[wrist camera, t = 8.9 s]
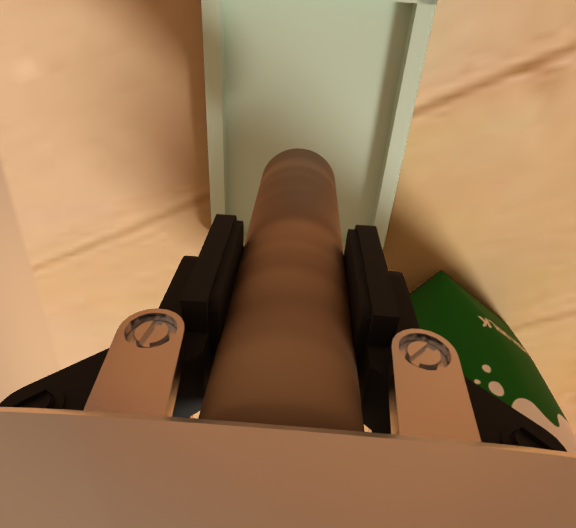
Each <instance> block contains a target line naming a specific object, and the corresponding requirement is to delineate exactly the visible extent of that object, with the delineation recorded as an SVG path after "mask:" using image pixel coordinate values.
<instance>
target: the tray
mask: <svg viewBox="0 0 576 528" xmlns="http://www.w3.org/2000/svg"><path fill="white" fill-rule="evenodd" d="M436 5H437V0H201V10H202V32H203V54H204V75H205V97H206V119H207V141H208V163H209V184H210V206H211V226H212V223H213V221H214V218H215V216H216V214H225V215H236V217H237V220H238V221H243V223H244V243H245V239H246V236H247V232H248V228H249V224H250V220H251V217H252V213H253V209H254V205H255V201H256V197H257V194H258V190H259V186H260V182H261V178H262V175H263V172H264V169H265V167H266V165H267V164H268V163H269V161H270V160H271V159H272V158H273V157H274V156H276V155H277V154H279V153H281V152H283V151H285V150H289V149H295V148H301V149H307V150H311V151H313V152H316V153H317V154H319V155H320V156H322V157H323V158H324V159H325V160H326V161H327V162H328V163H329V165H330V166H331V168H332V170H333V173H334V177H335V185H336V193H337V202H338V210H339V219H340V227H341V236H342V244H343V253H344V250H345V244H346V238H347V232H348V229H355V226H356V225H370V226H376V228H377V231H378V235H379V239H380V243H381V246H382V250H383V248H384V243H385V239H386V234H387V230H388V225H389V220H390V216H391V211H392V207H393V202H394V197H395V193H396V188H397V184H398V179H399V175H400V170H401V165H402V161H403V156H404V152H405V147H406V142H407V138H408V133H409V129H410V124H411V119H412V115H413V110H414V106H415V101H416V96H417V92H418V87H419V83H420V78H421V74H422V69H423V64H424V60H425V55H426V51H427V46H428V41H429V37H430V32H431V28H432V23H433V18H434V14H435V9H436Z"/></svg>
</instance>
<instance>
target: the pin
mask: <svg viewBox="0 0 576 528" xmlns="http://www.w3.org/2000/svg"><path fill="white" fill-rule="evenodd" d="M198 419H209V420H222V421H235V422H248V423H260V424H273V425H286V426H298V427H311V428H323V429H336V430H348V431H360V432H364V424H363V416H362V407H361V398H360V390H359V381H358V373H357V364H356V356H355V351H354V342H353V334H352V325H351V316H350V308H349V299H348V290H347V282H346V273H345V264H344V253H343V244H342V236H341V227H340V219H339V210H338V202H337V193H336V185H335V177H334V173H333V170H332V168H331V166H330V165H329V163H328V162H327V161H326V160H325V159H324V158H323V157H322V156H320V155H319V154H317V153H316V152H313V151H311V150H307V149H301V148H295V149H289V150H285V151H283V152H281V153H279V154H277V155H276V156H274V157H273V158H272V159H271V160H270V161H269V163H268V164H267V165H266V167H265V169H264V172H263V175H262V178H261V182H260V186H259V190H258V194H257V197H256V201H255V205H254V209H253V213H252V217H251V220H250V224H249V228H248V232H247V236H246V239H245V243H244V249H243V252H242V256H241V260H240V264H239V268H238V272H237V275H236V279H235V283H234V287H233V291H232V295H231V298H230V302H229V306H228V310H227V314H226V318H225V322H224V325H223V329H222V333H221V337H220V341H219V343H218V346H217V350H216V354H215V358H214V361H213V365H212V369H211V373H210V377H209V380H208V384H207V388H206V392H205V396H204V399H203V403H202V407H201V411H200V415H199V418H198Z"/></svg>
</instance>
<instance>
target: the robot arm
mask: <svg viewBox="0 0 576 528" xmlns="http://www.w3.org/2000/svg"><path fill="white" fill-rule="evenodd" d="M243 249H244V223H243V221H238V220H237V217H236V215H225V214H216V216H215V218H214V221H213V223H212V226H211V228H210V230H209V233H208V235H207V237H206V240H205V242H204V245H203V247H202V249H201V252H200V254H199V257H196V256H184V257H183V258H182V260H181V262H180V264H179V266H178V269H177V271H176V273H175V275H174V277H173V279H172V281H171V283H170V285H169V288H168V290H167V292H166V294H165V296H164V298H163V300H162V302H161V304H160V306H159V309H147V310H144V311H140V312H137V313H135V314H133V315H131V316H129V317H128V318H127V319H125V320H124V321H123V322H122V323H121V325H120V326H119V328H118V329H117V332H116V334H115V336H114V339H113V341H112V344H111V346H110V348H108V349H106V350H104V351H102V352H99V353H97V354H95V355H93V356H91V357H88V358H86V359H84V360H82V361H80V362H77V363H75V364H73V365H71V366H69V367H67V368H64V369H62V370H60V371H58V372H56V373H54V374H51V375H49V376H47V377H45V378H42V379H40V380H38V381H36V382H34V383H32V384H29V385H27V386H25V387H23V388H21V389H19V390H17V391H16V392H14V393H12V394H11V395H9V396H8V397H7V398H6V399H4V401H2V402H1V403H0V528H576V453H571V452H567V450H566V449H565V447H564V446H563V445H562V444H561V443H560V441H559V440H558V439H557V438H556V437H555V436H553V435H552V434H551V433H550V432H548V431H547V430H546V429H544V428H543V427H541V426H540V425H538V424H537V423H535V422H534V421H532V420H531V419H529V418H528V417H526V416H525V415H523V414H521V413H520V412H518V411H517V410H515V409H514V408H512V407H511V406H509V405H508V404H506V403H505V402H503V401H502V400H500V399H498V398H497V397H495V396H494V395H492V394H491V393H489V392H488V391H486V390H485V389H483V388H482V387H480V386H479V385H477V384H476V383H474V382H472V381H471V380H469V379H468V378H466V377H465V376H464V375H463V371H462V368H461V364H460V360H459V357H458V354H457V352H456V350H455V348H454V347H453V346H452V345H451V344H450V342H449V341H447V340H446V339H444V338H443V337H442V336H440V335H438V334H436V333H433V332H431V331H427V330H423V329H420V327H419V324H418V321H417V318H416V314H415V311H414V308H413V305H412V302H411V298H410V295H409V292H408V289H407V286H406V282H405V279H404V276H403V274H402V273H401V272H391V271H388V269H387V265H386V262H385V258H384V254H383V250H382V246H381V243H380V239H379V235H378V231H377V228H376V226H370V225H356V226H355V229H348V232H347V238H346V244H345V250H344V264H345V273H346V282H347V290H348V299H349V308H350V316H351V325H352V334H353V342H354V351H355V356H356V364H357V373H358V381H359V390H360V398H361V407H362V416H363V424H365V425H366V426H367V427H368V428H369V430H368V432H360V431H348V430H336V429H323V428H311V427H298V426H286V425H273V424H260V423H248V422H235V421H222V420H209V419H195V418H193V414H195V413H197V412H198V411H200V410H201V407H202V403H203V399H204V396H205V392H206V388H207V384H208V380H209V377H210V373H211V369H212V365H213V361H214V358H215V354H216V350H217V346H218V343H219V341H220V337H221V333H222V329H223V325H224V322H225V318H226V314H227V310H228V306H229V302H230V298H231V295H232V291H233V287H234V283H235V279H236V275H237V272H238V268H239V264H240V260H241V256H242V252H243Z"/></svg>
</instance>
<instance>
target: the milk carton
mask: <svg viewBox="0 0 576 528" xmlns="http://www.w3.org/2000/svg"><path fill="white" fill-rule="evenodd" d="M410 298H411V302H412V305H413V308H414V311H415V314H416V318H417V321H418V324H419V327H420V329H423V330H427V331H431V332H433V333H436V334H438V335H440V336H442V337H443V338H444V339H446V340H447V341H449V342H450V344H451V345H452V346H453V347H454V348H455V350H456V352H457V354H458V357H459V360H460V364H461V368H462V371H463V375H464V376H465V377H466V378H468V379H469V380H471V381H472V382H474V383H476V384H477V385H479V386H480V387H482V388H483V389H485V390H486V391H488V392H489V393H491V394H492V395H494V396H495V397H497V398H498V399H500V400H502V401H503V402H505V403H506V404H508V405H509V406H511V407H512V408H514V409H515V410H517V411H518V412H520V413H521V414H523V415H525V416H526V417H528V418H529V419H531V420H532V421H534V422H535V423H537V424H538V425H540V426H541V427H543V428H544V429H546V430H547V431H548V432H550V433H551V434H552V435H553V436H555V437H556V438H557V439H558V440H559V441H560V443H561V444H562V445H563V446H564V447H565V449H566V450H567V452H571V453H576V435H575V434H574V432H573V430H572V428H571V427H570V425H569V423H568V421H567V420H566V418H565V416H564V414H563V413H562V411H561V409H560V407H559V406H558V404H557V402H556V400H555V399H554V397H553V395H552V393H551V392H550V390H549V388H548V386H547V385H546V383H545V381H544V379H543V378H542V376H541V374H540V373H539V371H538V369H537V367H536V366H535V364H534V362H533V360H532V359H531V357H530V356H529V354H528V353H527V351H526V350H525V348H524V347H523V346H522V344H521V343H520V341H519V340H518V339H517V337H516V336H515V335H514V333H513V332H512V330H511V329H510V328H509V326H508V325H507V324H506V323H505V322H503V321H502V320H501V319H500V318H499V317H497V316H496V315H495V314H494V313H493V312H491V311H490V310H489V309H488V308H487V307H485V306H484V305H483V304H482V303H480V302H479V301H478V300H477V299H476V298H474V297H473V296H472V295H471V294H470V293H468V292H467V291H466V290H465V289H463V288H462V287H461V286H460V285H459V284H457V283H456V282H455V281H454V280H453V279H451V278H450V277H449V276H448V275H447V274H445V273H444V272H443V271H440V272H439V273H437V274H436V275H435V276H434V277H432V278H431V279H430V280H428V281H427V282H426V283H425V284H423V285H422V286H421V287H419V288H418V289H417V290H416V291H414V292H413V293H412V294H410Z"/></svg>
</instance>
